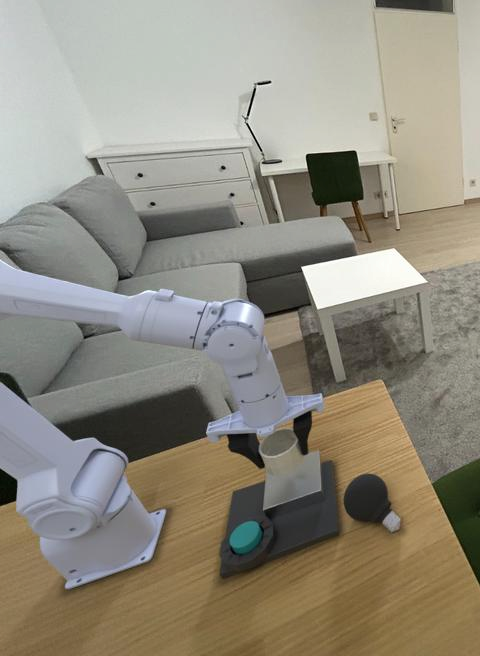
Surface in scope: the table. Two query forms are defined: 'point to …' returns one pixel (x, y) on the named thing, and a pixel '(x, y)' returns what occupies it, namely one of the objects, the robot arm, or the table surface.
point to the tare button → (246, 537)
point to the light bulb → (370, 501)
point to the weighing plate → (295, 488)
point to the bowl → (281, 452)
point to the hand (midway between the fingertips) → (284, 456)
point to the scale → (278, 526)
